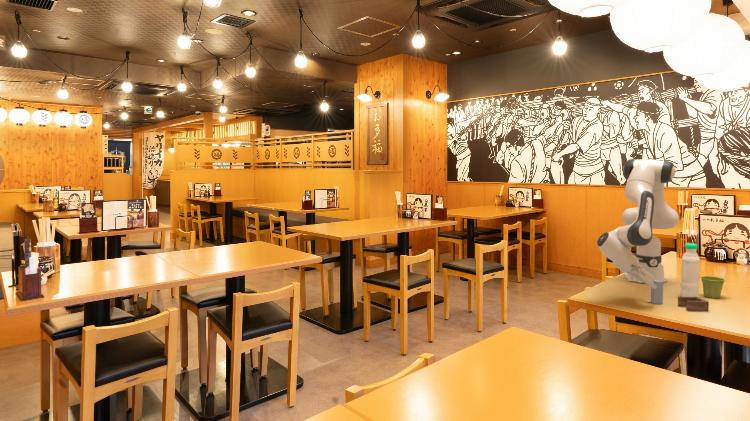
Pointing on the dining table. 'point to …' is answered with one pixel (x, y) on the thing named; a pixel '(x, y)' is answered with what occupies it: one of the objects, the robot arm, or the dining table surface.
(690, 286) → the water bottle
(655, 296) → the grey tall block
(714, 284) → the plant pot
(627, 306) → the dining table surface
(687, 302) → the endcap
